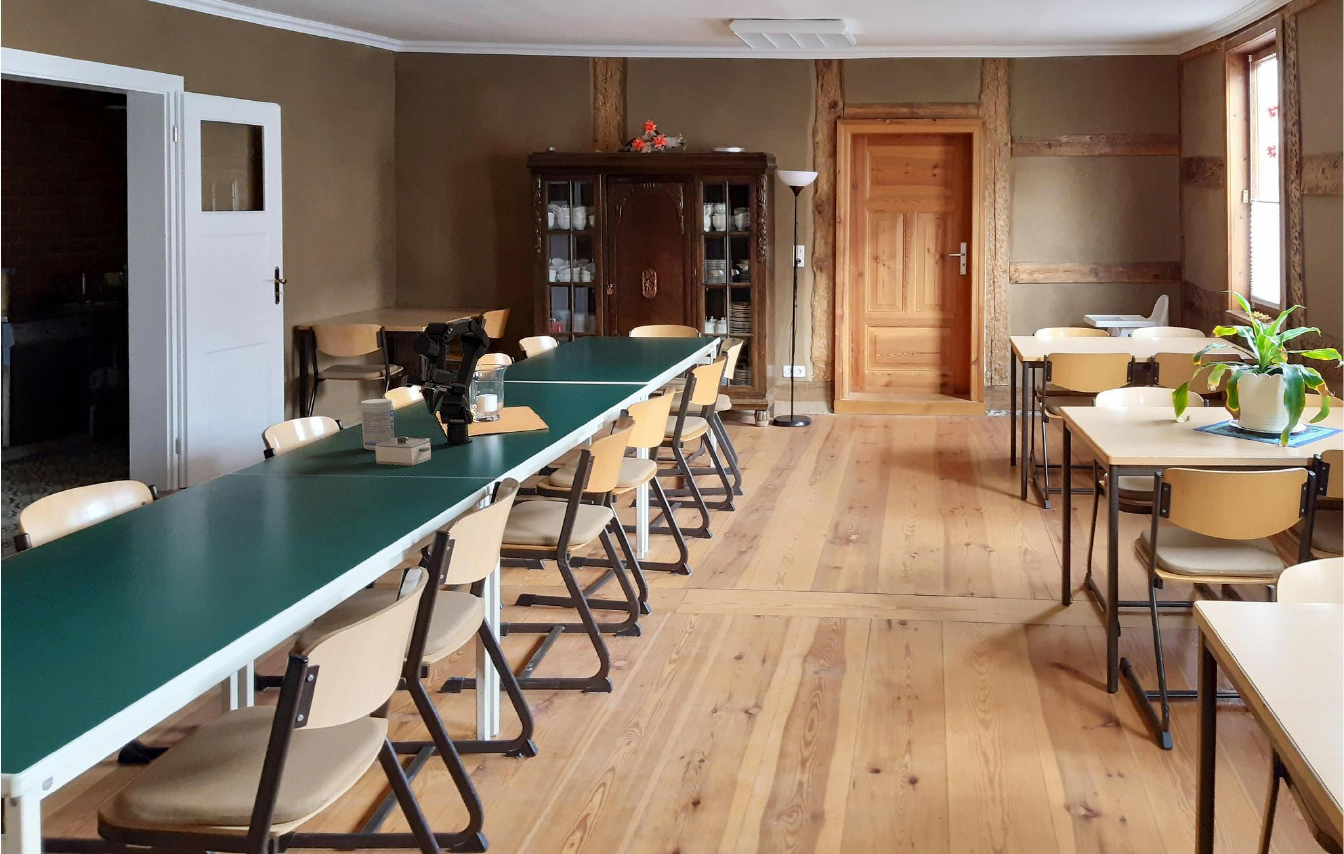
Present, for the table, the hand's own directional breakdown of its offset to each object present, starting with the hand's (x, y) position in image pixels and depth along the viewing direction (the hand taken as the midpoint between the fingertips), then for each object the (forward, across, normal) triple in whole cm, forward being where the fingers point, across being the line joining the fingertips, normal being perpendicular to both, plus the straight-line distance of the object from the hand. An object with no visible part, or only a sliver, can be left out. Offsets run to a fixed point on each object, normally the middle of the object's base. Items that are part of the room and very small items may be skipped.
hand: (431, 414), depth 371 cm
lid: (+11, -9, -4) cm, 15 cm away
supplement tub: (+9, -7, +22) cm, 25 cm away
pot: (+16, -8, -3) cm, 18 cm away
